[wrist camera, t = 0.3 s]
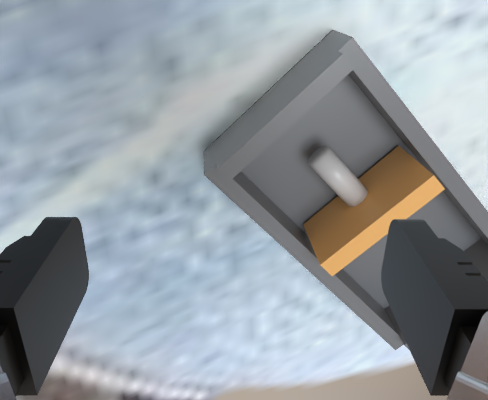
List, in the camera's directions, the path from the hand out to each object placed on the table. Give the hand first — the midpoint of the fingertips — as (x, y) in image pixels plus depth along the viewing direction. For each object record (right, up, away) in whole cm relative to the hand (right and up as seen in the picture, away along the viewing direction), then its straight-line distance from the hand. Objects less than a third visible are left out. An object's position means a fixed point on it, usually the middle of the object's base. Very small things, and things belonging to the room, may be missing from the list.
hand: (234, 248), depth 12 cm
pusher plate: (+6, +3, +18) cm, 20 cm away
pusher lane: (+8, +2, +21) cm, 22 cm away
